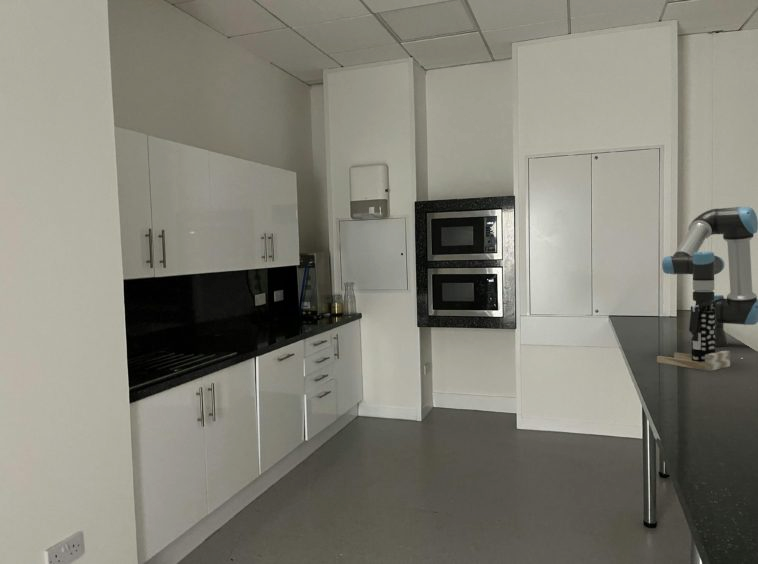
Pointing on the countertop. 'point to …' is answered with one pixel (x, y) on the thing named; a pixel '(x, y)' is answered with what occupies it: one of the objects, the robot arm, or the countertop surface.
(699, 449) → the countertop surface
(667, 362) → the guide channel
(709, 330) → the white-spotted black cylinder
